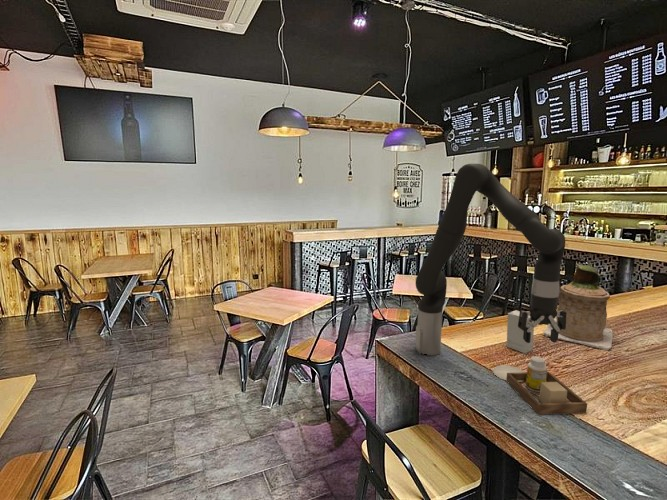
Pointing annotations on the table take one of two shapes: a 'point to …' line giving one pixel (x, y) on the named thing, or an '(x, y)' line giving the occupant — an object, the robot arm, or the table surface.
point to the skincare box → (517, 334)
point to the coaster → (506, 371)
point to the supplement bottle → (536, 373)
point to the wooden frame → (547, 408)
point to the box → (552, 393)
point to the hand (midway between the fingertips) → (540, 341)
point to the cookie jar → (584, 310)
